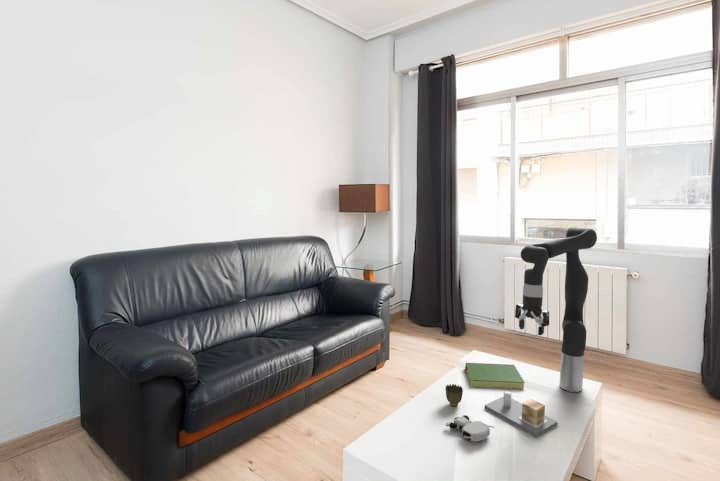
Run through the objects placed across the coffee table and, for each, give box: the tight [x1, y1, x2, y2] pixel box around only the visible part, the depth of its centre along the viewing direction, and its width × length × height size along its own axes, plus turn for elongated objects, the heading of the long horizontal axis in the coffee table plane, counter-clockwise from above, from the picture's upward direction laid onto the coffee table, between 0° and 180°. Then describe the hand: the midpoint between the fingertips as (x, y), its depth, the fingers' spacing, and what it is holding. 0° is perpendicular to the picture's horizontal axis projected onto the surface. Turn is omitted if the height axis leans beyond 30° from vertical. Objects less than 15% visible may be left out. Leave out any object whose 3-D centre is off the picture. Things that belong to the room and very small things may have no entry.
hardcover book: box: [464, 362, 525, 390], centre depth 194 cm, size 25×19×4 cm
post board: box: [484, 391, 559, 438], centre depth 160 cm, size 14×24×8 cm, turn 33°
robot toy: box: [445, 414, 495, 442], centre depth 150 cm, size 12×4×15 cm
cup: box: [445, 383, 464, 408], centre depth 169 cm, size 8×7×8 cm
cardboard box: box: [521, 398, 546, 426], centre depth 155 cm, size 6×6×6 cm
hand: (531, 331), depth 165 cm, fingers open, 8 cm apart
